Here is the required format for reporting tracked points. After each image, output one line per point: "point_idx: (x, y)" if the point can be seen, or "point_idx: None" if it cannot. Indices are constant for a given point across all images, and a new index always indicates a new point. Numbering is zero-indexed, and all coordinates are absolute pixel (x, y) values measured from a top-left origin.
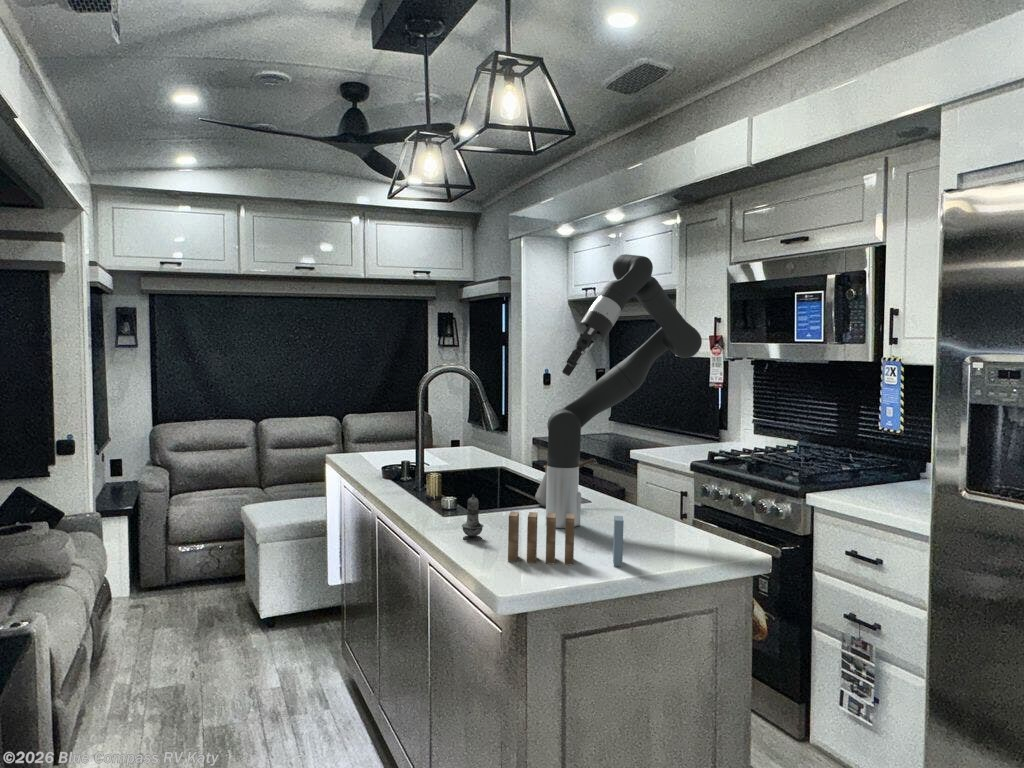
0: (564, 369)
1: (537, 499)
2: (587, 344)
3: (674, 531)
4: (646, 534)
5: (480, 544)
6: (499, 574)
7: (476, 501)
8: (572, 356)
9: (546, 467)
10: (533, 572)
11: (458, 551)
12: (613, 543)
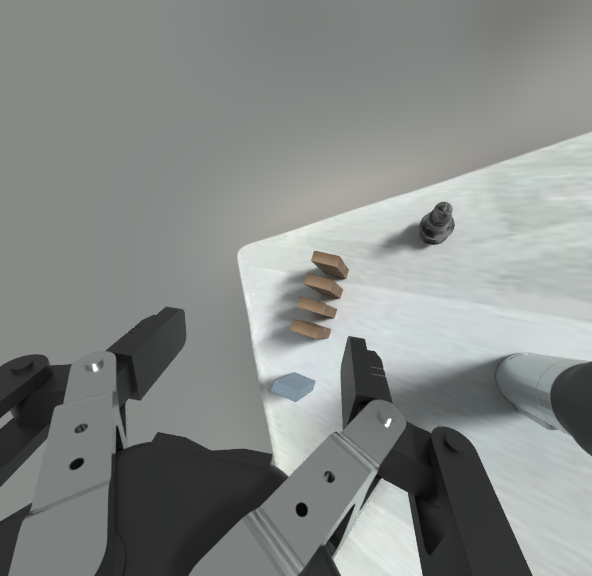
0: (348, 347)
1: None
2: (4, 435)
3: None
4: None
5: (403, 240)
6: (287, 252)
7: (436, 215)
8: (132, 332)
9: None
10: (288, 284)
11: (373, 215)
12: (308, 383)
